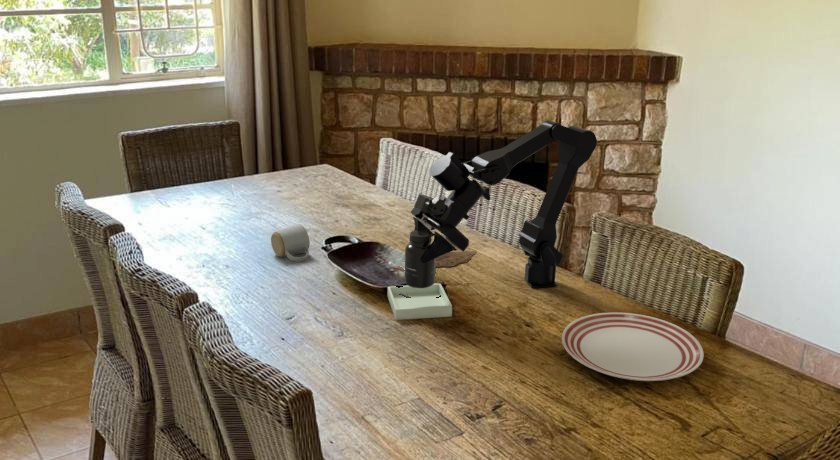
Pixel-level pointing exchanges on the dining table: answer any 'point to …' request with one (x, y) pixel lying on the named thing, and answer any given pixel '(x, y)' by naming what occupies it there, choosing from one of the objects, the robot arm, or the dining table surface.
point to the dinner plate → (632, 346)
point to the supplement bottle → (414, 268)
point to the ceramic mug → (291, 242)
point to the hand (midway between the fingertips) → (414, 256)
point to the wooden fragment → (449, 259)
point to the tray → (419, 302)
